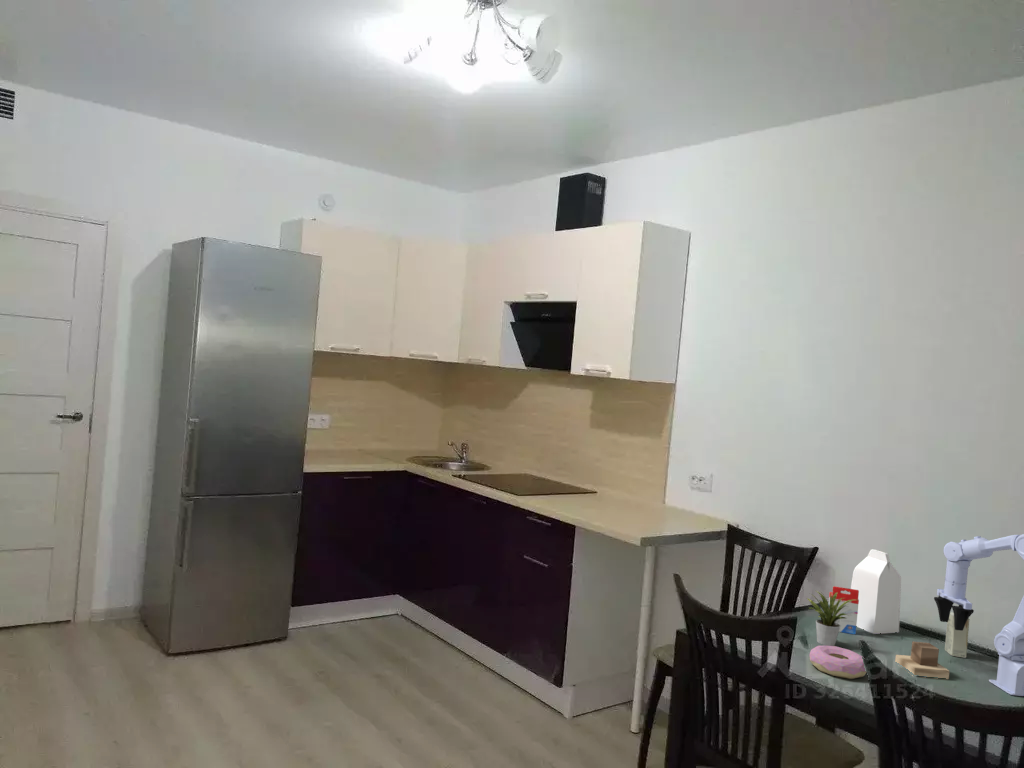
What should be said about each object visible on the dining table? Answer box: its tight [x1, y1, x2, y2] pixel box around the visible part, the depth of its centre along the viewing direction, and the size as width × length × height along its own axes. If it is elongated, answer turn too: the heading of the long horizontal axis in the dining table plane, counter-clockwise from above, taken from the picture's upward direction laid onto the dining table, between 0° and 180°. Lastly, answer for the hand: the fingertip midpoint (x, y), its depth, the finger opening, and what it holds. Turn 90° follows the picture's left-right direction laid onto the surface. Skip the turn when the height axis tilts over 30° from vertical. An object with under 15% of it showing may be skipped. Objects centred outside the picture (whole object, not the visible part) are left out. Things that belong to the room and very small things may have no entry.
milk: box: [850, 548, 902, 635], centre depth 258 cm, size 12×12×26 cm
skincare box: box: [944, 611, 971, 659], centre depth 237 cm, size 6×4×12 cm
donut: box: [808, 645, 867, 680], centre depth 213 cm, size 16×15×5 cm
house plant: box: [806, 590, 853, 646], centre depth 237 cm, size 14×14×16 cm
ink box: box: [828, 585, 859, 635], centre depth 251 cm, size 8×5×15 cm, turn 74°
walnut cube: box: [910, 640, 940, 666], centre depth 219 cm, size 5×5×5 cm
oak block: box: [894, 654, 950, 680], centre depth 219 cm, size 10×10×3 cm
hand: (951, 625), depth 231 cm, fingers open, 7 cm apart
